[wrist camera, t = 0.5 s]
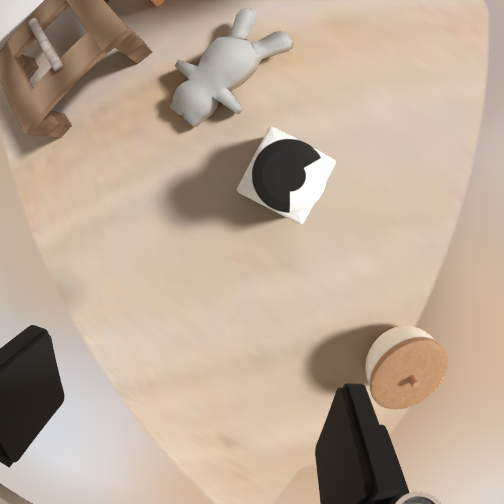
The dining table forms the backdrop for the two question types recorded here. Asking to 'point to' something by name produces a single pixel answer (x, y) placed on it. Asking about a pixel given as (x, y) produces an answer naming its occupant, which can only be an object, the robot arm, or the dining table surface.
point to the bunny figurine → (224, 70)
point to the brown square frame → (60, 61)
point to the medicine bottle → (286, 175)
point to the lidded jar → (404, 367)
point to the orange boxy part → (158, 2)
